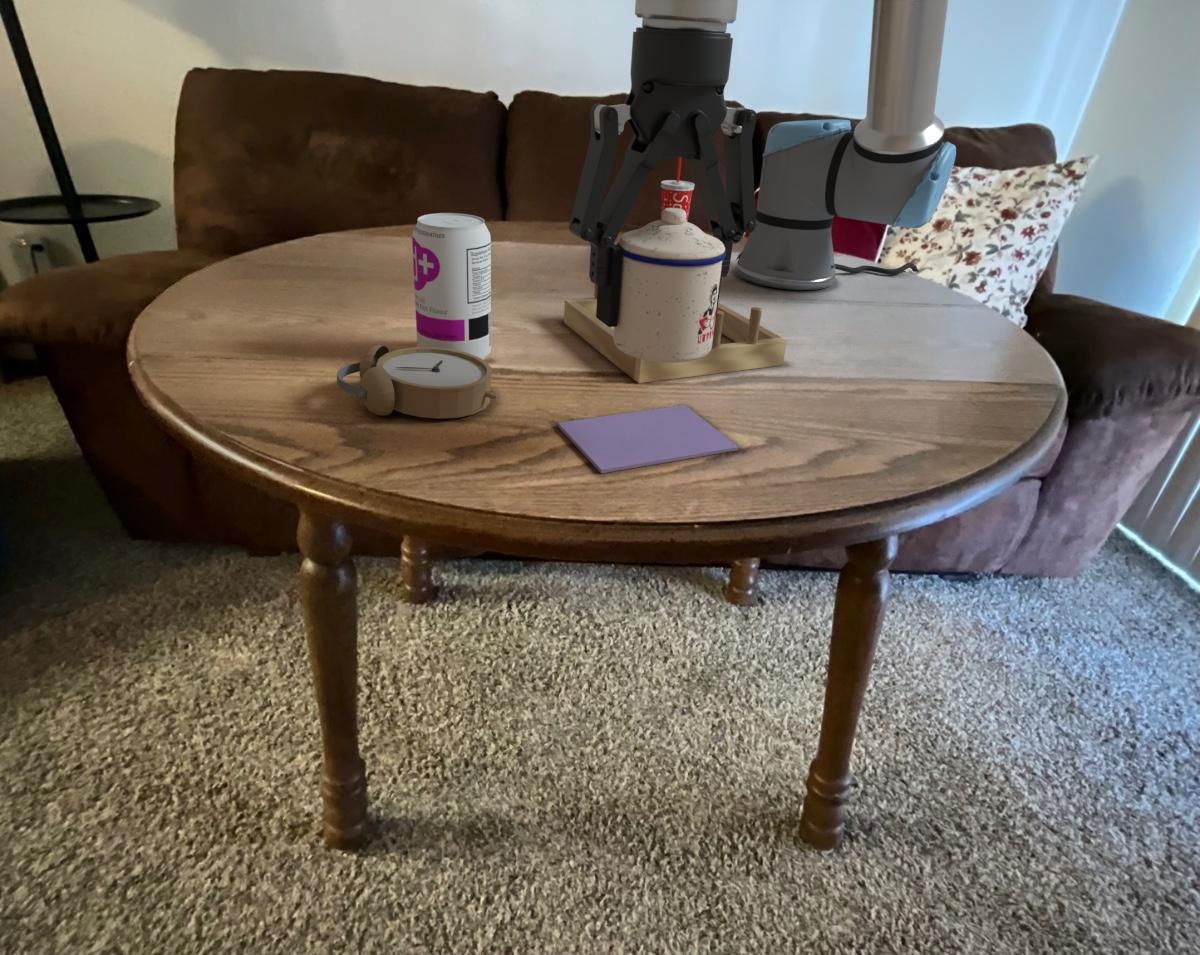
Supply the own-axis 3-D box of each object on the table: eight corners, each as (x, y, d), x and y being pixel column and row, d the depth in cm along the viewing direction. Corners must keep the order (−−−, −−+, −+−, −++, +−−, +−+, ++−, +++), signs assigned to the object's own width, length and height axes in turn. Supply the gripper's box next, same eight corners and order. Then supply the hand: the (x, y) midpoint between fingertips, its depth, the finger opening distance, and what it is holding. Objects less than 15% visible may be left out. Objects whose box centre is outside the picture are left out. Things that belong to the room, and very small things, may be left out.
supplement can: (431, 372, 91) (425, 230, 84) (409, 347, 97) (402, 213, 90) (501, 363, 94) (502, 226, 87) (476, 339, 101) (474, 210, 93)
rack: (692, 310, 116) (698, 259, 112) (783, 365, 99) (793, 306, 96) (563, 322, 108) (565, 268, 105) (637, 383, 91) (643, 321, 88)
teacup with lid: (720, 367, 70) (738, 224, 65) (611, 362, 70) (619, 218, 64) (704, 321, 81) (718, 195, 75) (609, 317, 80) (616, 190, 75)
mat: (684, 408, 86) (684, 404, 86) (737, 450, 78) (738, 446, 78) (557, 426, 81) (557, 422, 81) (601, 473, 73) (601, 469, 73)
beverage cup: (654, 235, 155) (661, 154, 148) (658, 228, 160) (665, 150, 153) (688, 238, 154) (696, 157, 147) (690, 231, 159) (698, 152, 153)
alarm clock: (503, 390, 80) (338, 370, 75) (494, 437, 82) (333, 420, 77) (487, 349, 90) (340, 329, 85) (479, 392, 92) (335, 375, 87)
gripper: (775, 31, 70) (738, 296, 81) (529, 16, 62) (524, 314, 73) (832, 35, 64) (784, 320, 75) (568, 19, 56) (557, 342, 67)
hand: (657, 317), depth 74 cm, fingers closed on teacup with lid, 9 cm apart
